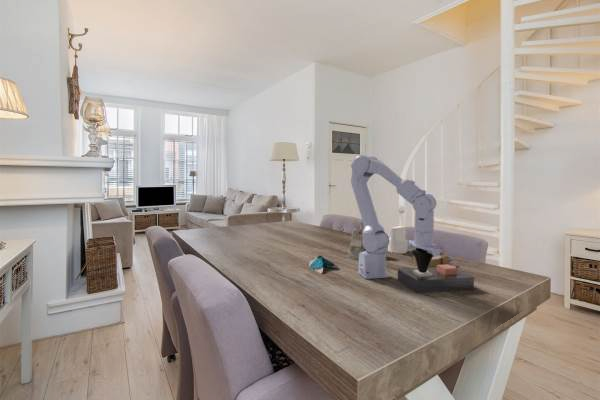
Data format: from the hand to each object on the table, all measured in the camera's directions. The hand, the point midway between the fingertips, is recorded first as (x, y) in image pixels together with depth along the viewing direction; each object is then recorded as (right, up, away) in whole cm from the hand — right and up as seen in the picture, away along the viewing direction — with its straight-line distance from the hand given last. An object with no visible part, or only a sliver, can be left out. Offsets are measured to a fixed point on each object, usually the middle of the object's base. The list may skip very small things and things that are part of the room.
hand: (422, 271), depth 100 cm
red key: (+9, -2, +2) cm, 9 cm away
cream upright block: (+8, -2, +48) cm, 49 cm away
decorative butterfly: (-32, -4, +20) cm, 38 cm away
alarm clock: (+15, -3, +27) cm, 31 cm away
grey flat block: (+4, -5, +1) cm, 6 cm away
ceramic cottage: (-10, -2, +38) cm, 40 cm away
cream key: (0, -3, 0) cm, 3 cm away
